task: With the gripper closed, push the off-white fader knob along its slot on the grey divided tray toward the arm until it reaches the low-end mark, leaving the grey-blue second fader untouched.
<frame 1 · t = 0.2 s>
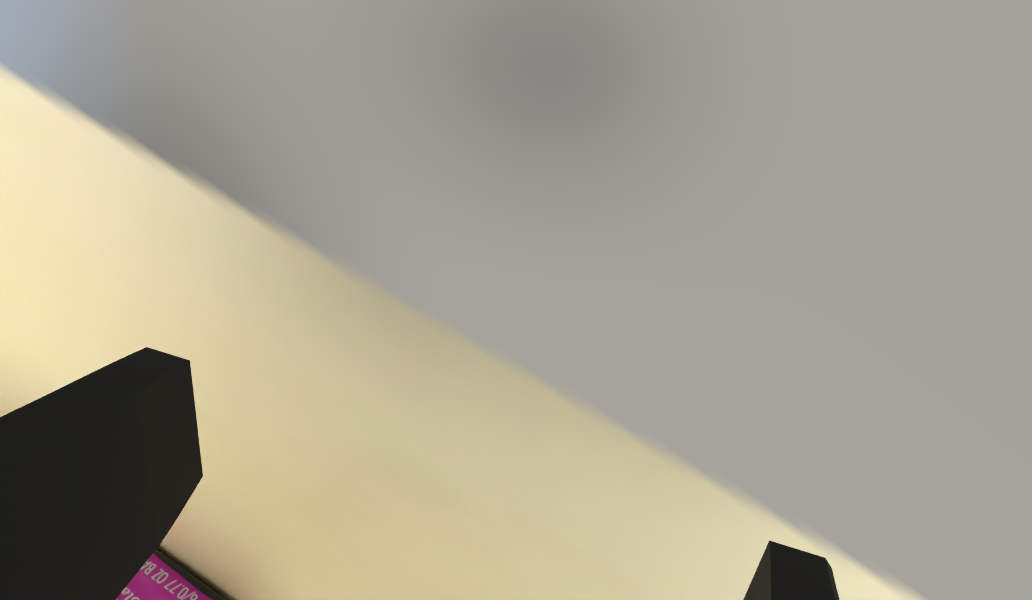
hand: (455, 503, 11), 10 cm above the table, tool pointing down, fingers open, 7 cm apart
candy bar box: (111, 556, 30), on the table
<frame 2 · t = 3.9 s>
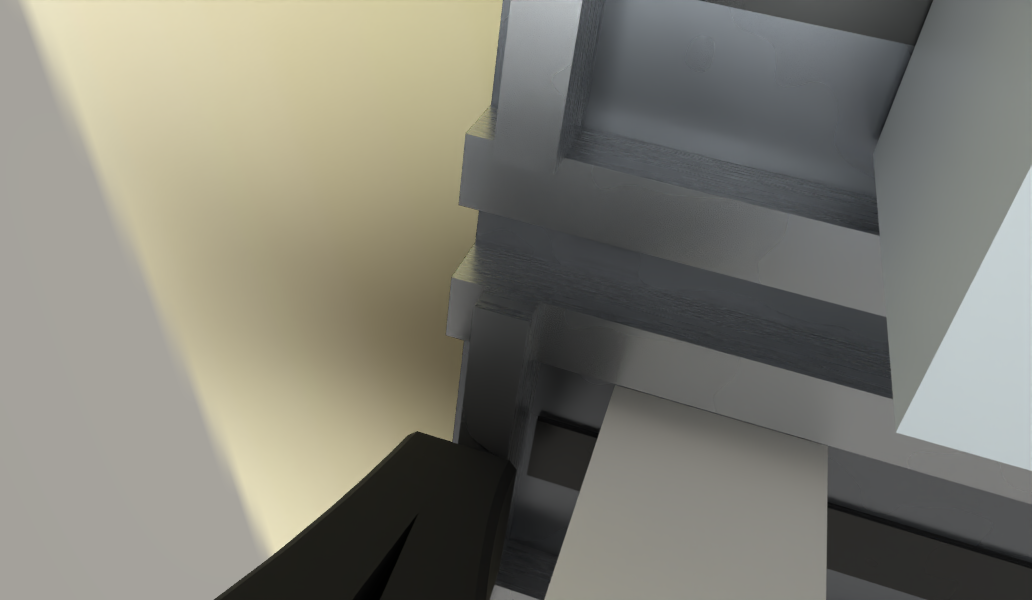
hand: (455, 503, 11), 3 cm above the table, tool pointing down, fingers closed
grey divided tray: (916, 274, 11), on the table
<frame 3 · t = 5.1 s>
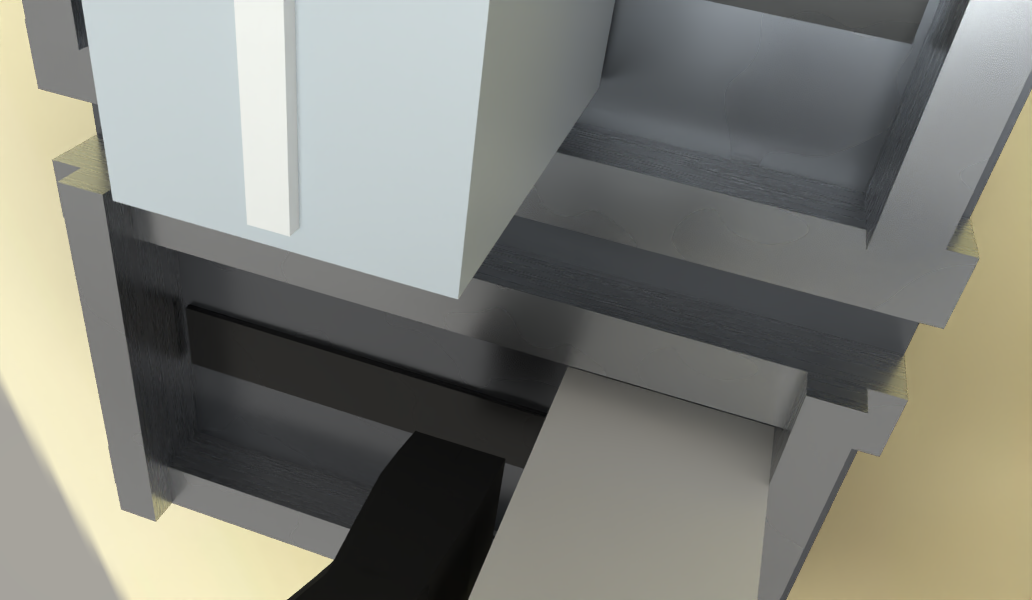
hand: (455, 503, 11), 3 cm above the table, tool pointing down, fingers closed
grey divided tray: (507, 168, 12), on the table
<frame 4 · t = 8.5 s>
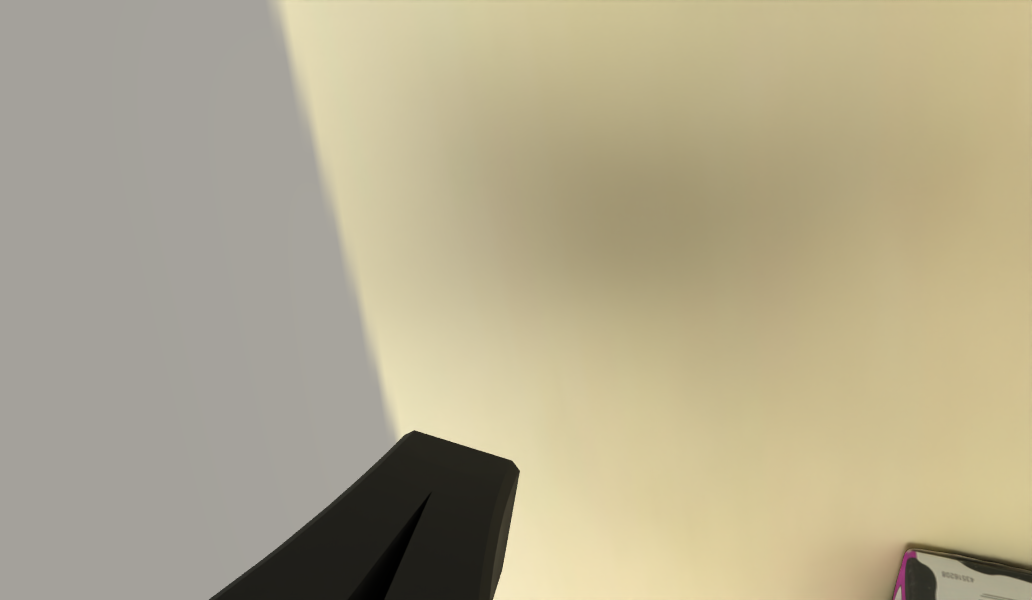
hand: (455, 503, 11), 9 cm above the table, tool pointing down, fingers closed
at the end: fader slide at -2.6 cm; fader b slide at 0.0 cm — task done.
